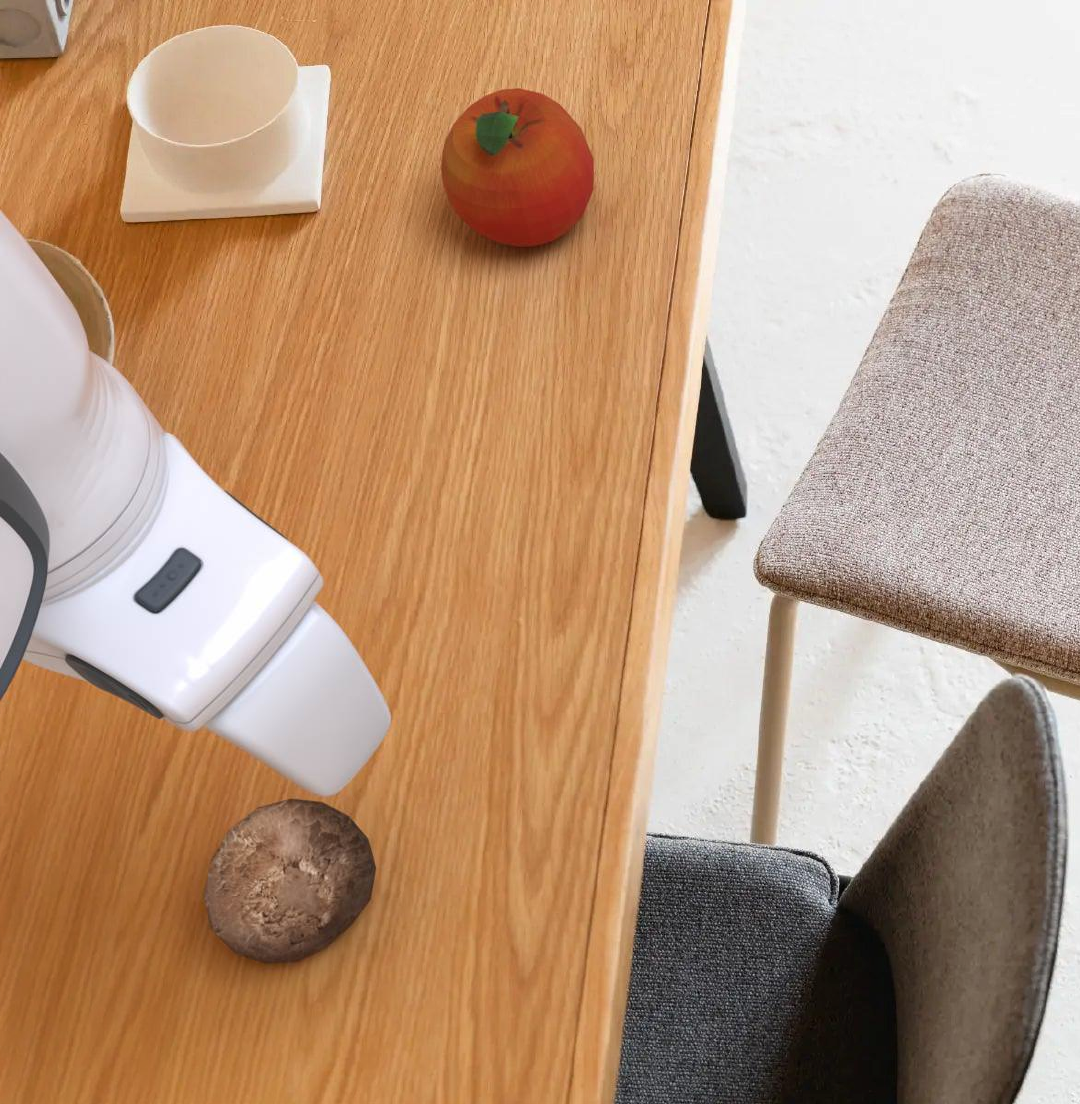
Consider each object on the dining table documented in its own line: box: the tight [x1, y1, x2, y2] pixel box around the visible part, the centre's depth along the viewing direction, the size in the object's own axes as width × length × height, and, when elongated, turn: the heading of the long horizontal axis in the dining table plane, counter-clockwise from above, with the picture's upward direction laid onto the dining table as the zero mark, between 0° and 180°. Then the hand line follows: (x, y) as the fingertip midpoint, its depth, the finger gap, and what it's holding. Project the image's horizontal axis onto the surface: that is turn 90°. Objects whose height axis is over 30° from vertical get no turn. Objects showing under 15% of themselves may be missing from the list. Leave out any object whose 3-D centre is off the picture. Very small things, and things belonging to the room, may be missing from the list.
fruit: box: [440, 87, 595, 248], centre depth 93 cm, size 10×10×10 cm
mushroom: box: [203, 798, 377, 965], centre depth 73 cm, size 8×8×6 cm
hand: (212, 692), depth 59 cm, fingers open, 8 cm apart
